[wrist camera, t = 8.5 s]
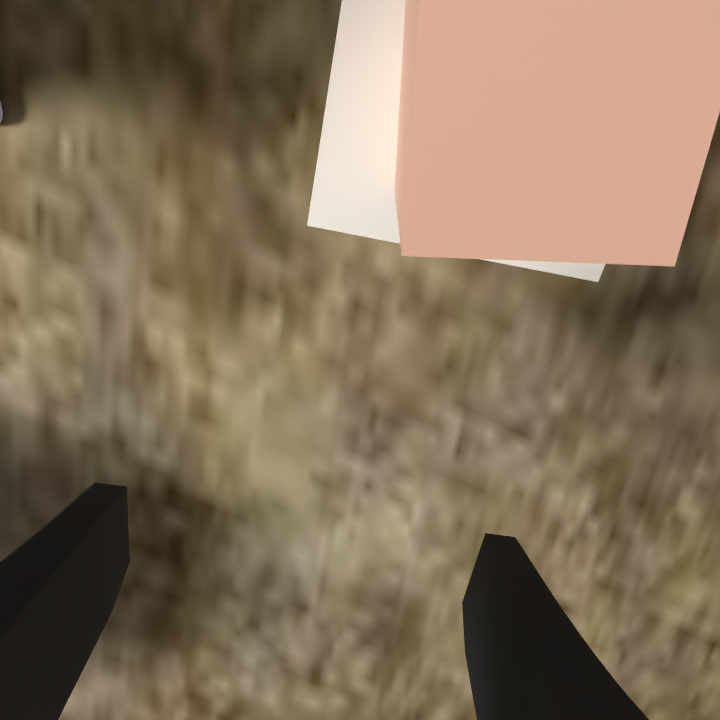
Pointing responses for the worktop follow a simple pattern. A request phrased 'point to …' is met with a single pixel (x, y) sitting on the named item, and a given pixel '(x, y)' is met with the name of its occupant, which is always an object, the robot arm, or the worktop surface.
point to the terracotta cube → (554, 127)
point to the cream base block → (374, 133)
